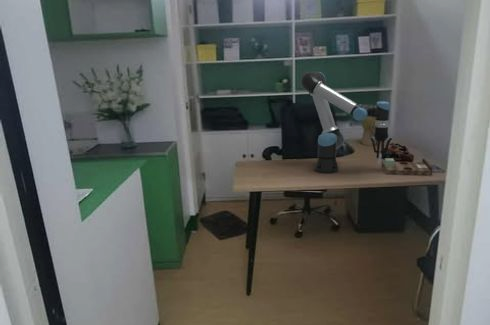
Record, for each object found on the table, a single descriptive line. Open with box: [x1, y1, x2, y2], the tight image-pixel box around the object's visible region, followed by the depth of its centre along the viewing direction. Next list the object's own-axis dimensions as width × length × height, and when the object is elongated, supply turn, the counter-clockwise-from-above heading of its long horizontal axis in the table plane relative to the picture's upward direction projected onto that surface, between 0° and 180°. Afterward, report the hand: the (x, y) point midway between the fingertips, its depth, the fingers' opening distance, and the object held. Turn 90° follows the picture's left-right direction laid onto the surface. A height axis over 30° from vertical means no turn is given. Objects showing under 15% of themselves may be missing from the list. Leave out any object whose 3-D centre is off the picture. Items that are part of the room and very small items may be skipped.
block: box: [384, 158, 395, 167], centre depth 230 cm, size 5×5×4 cm
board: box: [380, 158, 433, 176], centre depth 228 cm, size 26×19×6 cm
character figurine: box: [379, 142, 415, 162], centre depth 249 cm, size 17×11×28 cm
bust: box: [361, 117, 377, 147], centre depth 297 cm, size 18×18×30 cm
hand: (379, 163), depth 231 cm, fingers closed
